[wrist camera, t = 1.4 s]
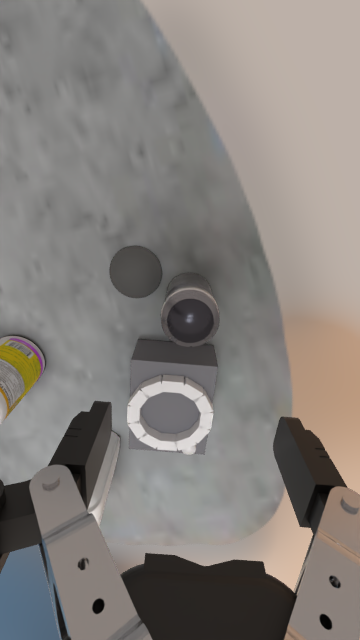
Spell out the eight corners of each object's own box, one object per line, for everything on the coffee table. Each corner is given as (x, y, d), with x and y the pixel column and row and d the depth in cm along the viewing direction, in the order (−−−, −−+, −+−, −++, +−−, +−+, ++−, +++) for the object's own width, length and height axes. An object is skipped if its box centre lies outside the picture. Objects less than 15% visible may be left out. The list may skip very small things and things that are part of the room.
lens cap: (111, 293, 33) (109, 295, 32) (111, 243, 31) (109, 244, 30) (160, 298, 33) (159, 300, 32) (163, 248, 31) (163, 249, 30)
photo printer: (93, 425, 39) (54, 516, 28) (124, 431, 39) (99, 524, 28) (83, 478, 43) (45, 577, 31) (111, 483, 43) (84, 584, 32)
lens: (164, 314, 33) (158, 346, 25) (167, 269, 31) (161, 289, 23) (209, 318, 33) (216, 351, 25) (215, 273, 31) (224, 295, 23)
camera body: (135, 419, 39) (126, 456, 33) (137, 339, 34) (128, 365, 28) (202, 424, 39) (205, 462, 33) (213, 345, 34) (219, 373, 29)
